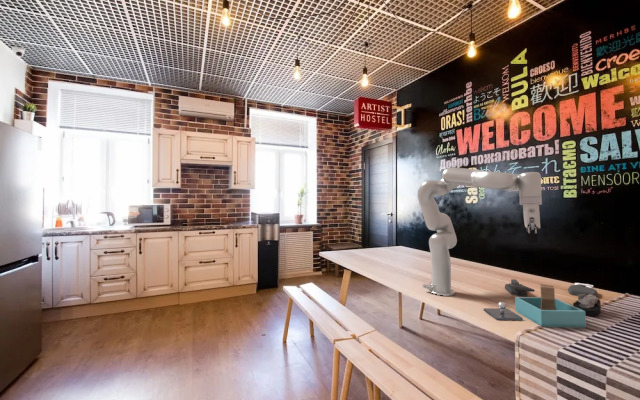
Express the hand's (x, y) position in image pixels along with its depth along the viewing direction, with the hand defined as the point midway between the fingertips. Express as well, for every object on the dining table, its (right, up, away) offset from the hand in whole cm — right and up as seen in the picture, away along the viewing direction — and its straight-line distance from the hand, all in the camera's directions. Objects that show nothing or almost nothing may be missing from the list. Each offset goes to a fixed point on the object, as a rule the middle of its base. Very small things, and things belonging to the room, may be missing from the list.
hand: (531, 241), depth 117 cm
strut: (+2, -29, -6) cm, 30 cm away
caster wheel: (+24, -30, 0) cm, 39 cm away
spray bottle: (+48, -31, +28) cm, 64 cm away
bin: (+2, -30, -6) cm, 31 cm away
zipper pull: (+12, -31, +24) cm, 41 cm away
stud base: (-14, -31, -2) cm, 33 cm away
